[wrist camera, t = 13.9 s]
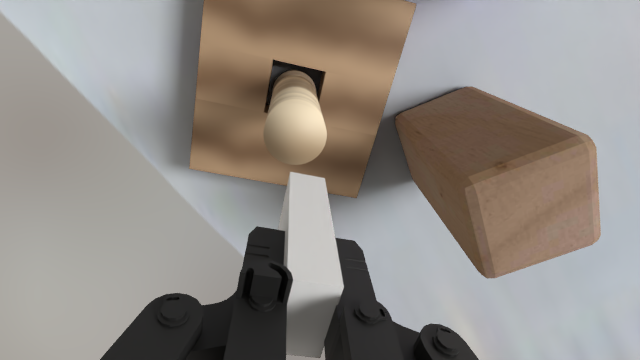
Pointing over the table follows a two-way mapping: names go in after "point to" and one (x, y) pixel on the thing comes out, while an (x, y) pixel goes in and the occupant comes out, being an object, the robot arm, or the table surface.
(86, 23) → the table surface
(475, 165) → the wooden block
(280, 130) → the peg
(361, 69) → the board
